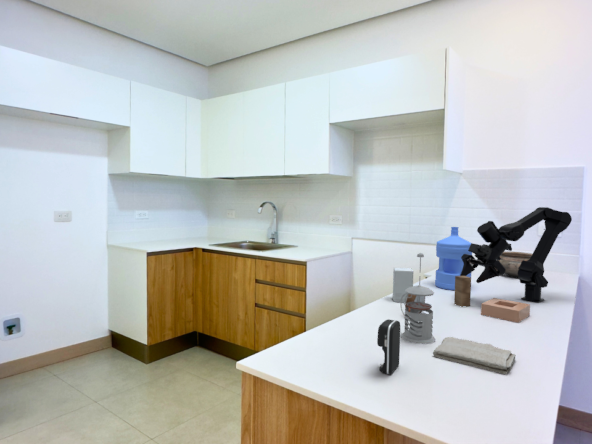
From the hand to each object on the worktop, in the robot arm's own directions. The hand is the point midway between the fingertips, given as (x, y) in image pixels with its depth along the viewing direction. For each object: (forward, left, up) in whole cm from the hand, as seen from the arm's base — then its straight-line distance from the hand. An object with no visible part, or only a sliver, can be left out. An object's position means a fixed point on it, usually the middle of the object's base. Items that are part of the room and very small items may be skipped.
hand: (468, 279), depth 148 cm
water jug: (-24, -20, -10) cm, 32 cm away
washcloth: (+47, +27, -10) cm, 56 cm away
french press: (+46, +9, -10) cm, 48 cm away
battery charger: (+70, +18, -10) cm, 73 cm away
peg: (+2, -1, -10) cm, 10 cm away
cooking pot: (-76, -14, -10) cm, 78 cm away
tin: (+26, -5, -10) cm, 29 cm away
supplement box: (+15, -19, -10) cm, 26 cm away
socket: (+2, +15, -10) cm, 18 cm away
